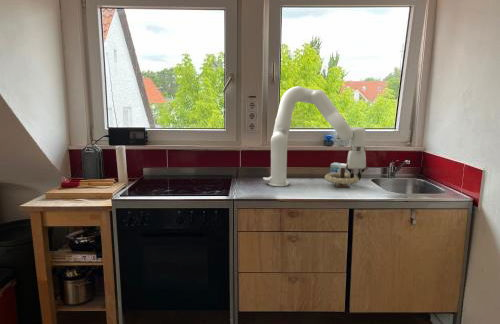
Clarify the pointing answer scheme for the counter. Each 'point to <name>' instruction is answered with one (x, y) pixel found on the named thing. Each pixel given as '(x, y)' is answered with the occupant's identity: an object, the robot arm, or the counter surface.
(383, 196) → the counter surface
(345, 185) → the brown peg stand
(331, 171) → the light bulb box
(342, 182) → the woven wreath ring
